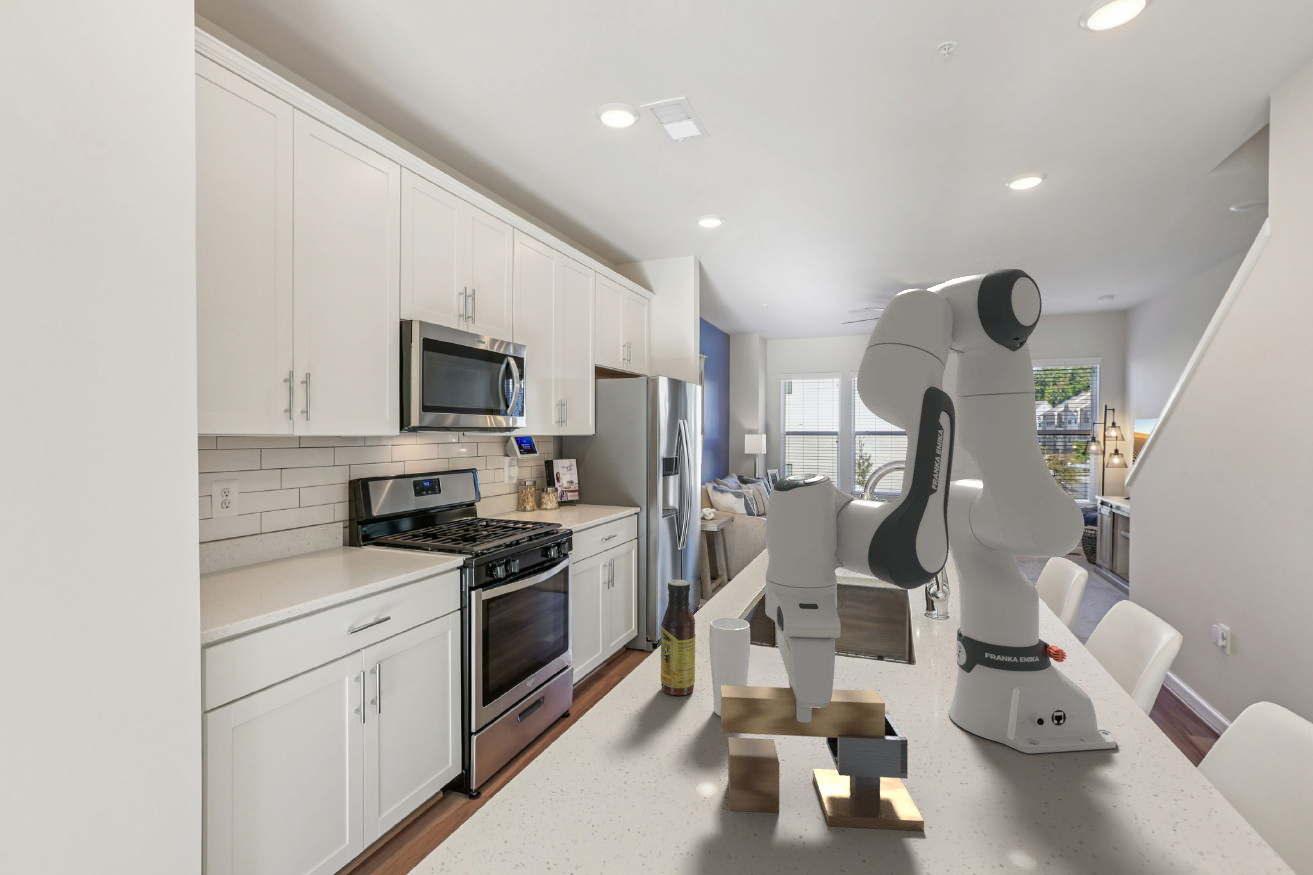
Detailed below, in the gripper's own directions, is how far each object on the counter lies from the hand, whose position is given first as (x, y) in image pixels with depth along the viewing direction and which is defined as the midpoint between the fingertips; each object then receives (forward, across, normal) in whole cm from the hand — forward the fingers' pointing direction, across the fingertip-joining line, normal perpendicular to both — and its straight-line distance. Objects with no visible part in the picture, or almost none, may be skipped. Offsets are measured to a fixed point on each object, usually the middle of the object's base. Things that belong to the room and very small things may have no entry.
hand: (800, 710), depth 76 cm
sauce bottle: (+12, -31, -17) cm, 37 cm away
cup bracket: (+11, 0, +8) cm, 14 cm away
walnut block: (+11, 0, -6) cm, 13 cm away
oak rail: (+2, 0, 0) cm, 2 cm away
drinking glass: (+12, -23, -8) cm, 27 cm away
